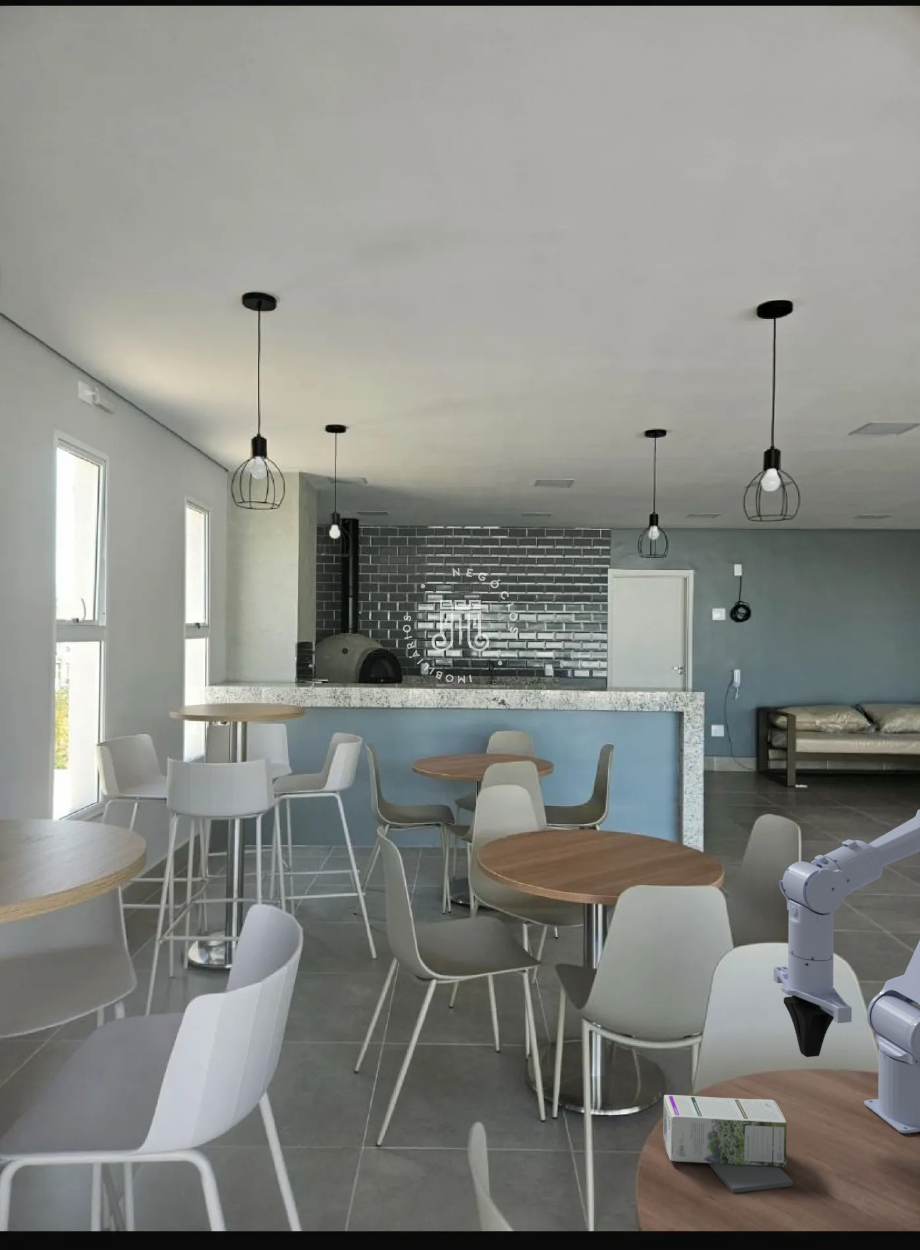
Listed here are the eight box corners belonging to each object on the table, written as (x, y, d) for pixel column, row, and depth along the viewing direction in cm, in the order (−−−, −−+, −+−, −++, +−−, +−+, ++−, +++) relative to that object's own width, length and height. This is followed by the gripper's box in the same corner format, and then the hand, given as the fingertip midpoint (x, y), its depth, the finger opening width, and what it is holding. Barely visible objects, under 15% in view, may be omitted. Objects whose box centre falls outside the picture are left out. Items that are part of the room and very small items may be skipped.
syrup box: (774, 1098, 114) (661, 1092, 115) (788, 1123, 108) (669, 1116, 109) (774, 1142, 114) (661, 1135, 115) (787, 1169, 108) (669, 1162, 109)
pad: (753, 1143, 114) (753, 1139, 114) (793, 1185, 105) (793, 1181, 105) (696, 1149, 113) (696, 1145, 113) (732, 1192, 104) (732, 1188, 104)
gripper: (755, 937, 125) (754, 1033, 125) (817, 975, 111) (816, 1083, 111) (798, 934, 127) (797, 1029, 126) (866, 971, 113) (865, 1078, 112)
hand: (809, 1054), depth 119 cm, fingers closed
